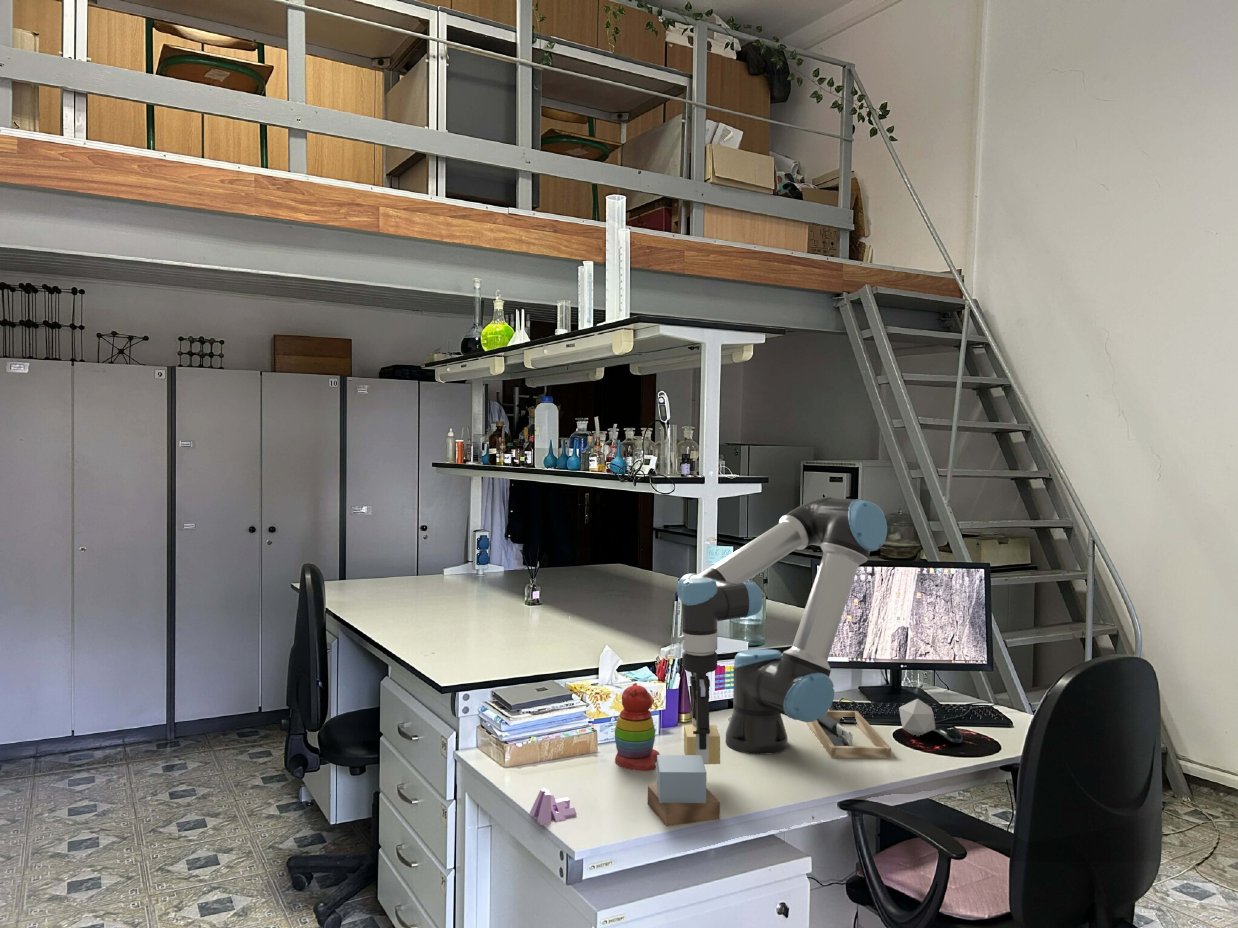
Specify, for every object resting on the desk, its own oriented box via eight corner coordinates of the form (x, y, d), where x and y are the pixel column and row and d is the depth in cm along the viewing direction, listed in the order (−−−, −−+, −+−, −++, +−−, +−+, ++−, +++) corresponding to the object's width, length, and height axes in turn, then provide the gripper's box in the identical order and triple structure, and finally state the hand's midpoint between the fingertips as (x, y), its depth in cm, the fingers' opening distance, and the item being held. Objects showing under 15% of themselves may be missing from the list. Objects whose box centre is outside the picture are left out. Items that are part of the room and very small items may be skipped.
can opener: (858, 754, 204) (859, 733, 204) (833, 755, 203) (834, 734, 203) (828, 727, 223) (828, 708, 223) (804, 728, 222) (805, 709, 222)
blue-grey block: (700, 784, 172) (701, 755, 172) (706, 803, 163) (706, 772, 163) (656, 784, 172) (657, 754, 172) (659, 802, 163) (659, 771, 163)
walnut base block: (697, 803, 175) (698, 779, 174) (719, 827, 164) (720, 801, 164) (647, 809, 171) (647, 785, 171) (666, 833, 161) (666, 807, 161)
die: (937, 735, 218) (938, 697, 217) (929, 745, 210) (930, 705, 210) (904, 729, 222) (904, 691, 222) (895, 738, 215) (895, 699, 215)
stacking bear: (653, 772, 190) (655, 693, 190) (609, 768, 192) (610, 690, 192) (661, 755, 201) (662, 680, 200) (619, 751, 203) (620, 677, 202)
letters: (565, 809, 171) (565, 780, 170) (578, 823, 164) (579, 793, 164) (527, 816, 167) (528, 786, 167) (539, 831, 161) (540, 800, 161)
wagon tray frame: (857, 721, 227) (857, 710, 227) (890, 760, 199) (890, 748, 199) (804, 721, 227) (805, 710, 227) (831, 759, 199) (831, 747, 199)
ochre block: (715, 751, 187) (715, 724, 187) (720, 763, 180) (720, 736, 180) (684, 751, 187) (684, 725, 187) (687, 764, 180) (687, 736, 180)
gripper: (678, 639, 193) (679, 739, 194) (685, 663, 173) (687, 774, 174) (711, 639, 193) (712, 738, 194) (722, 663, 173) (723, 774, 174)
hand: (700, 755), depth 184 cm, fingers closed on ochre block, 7 cm apart
